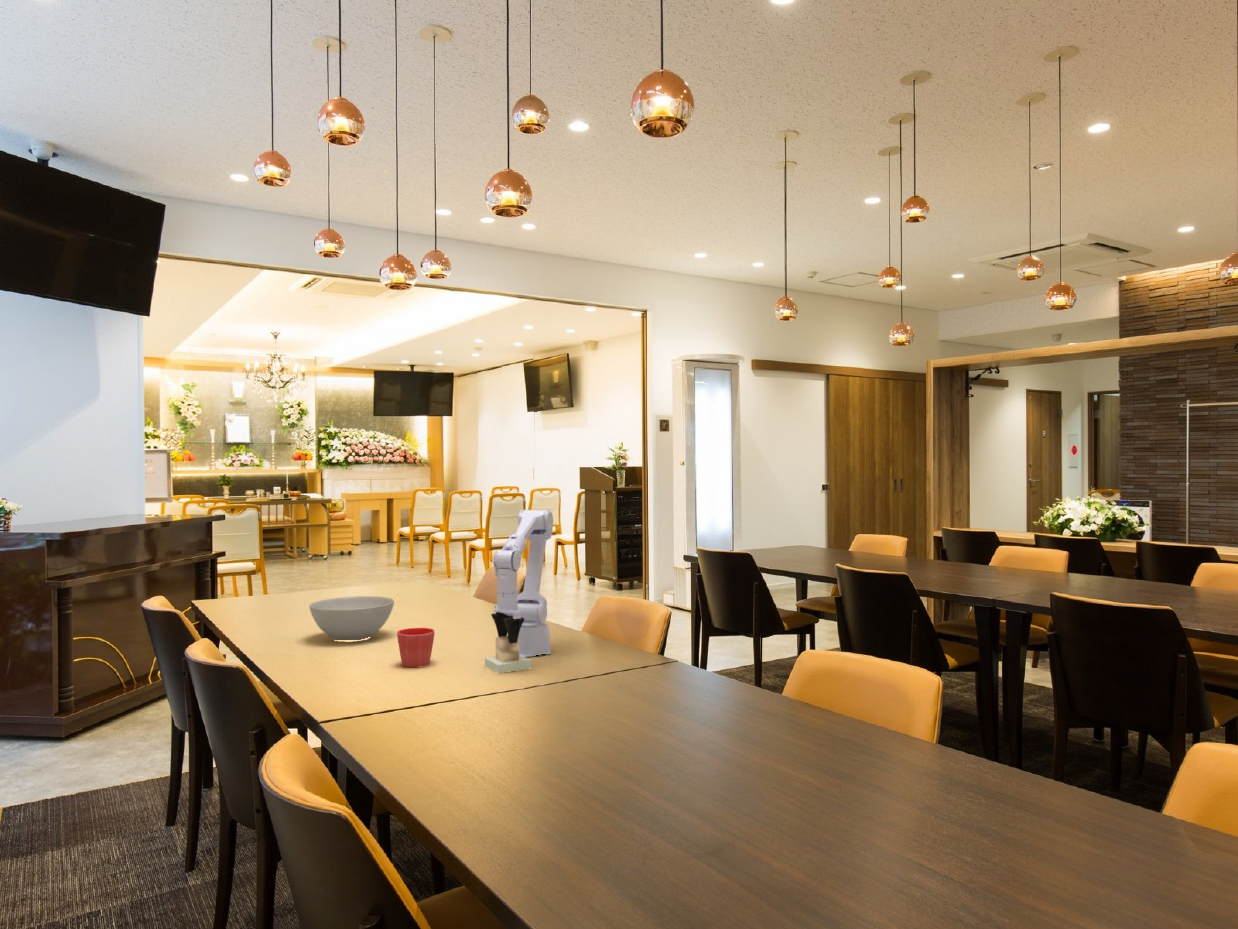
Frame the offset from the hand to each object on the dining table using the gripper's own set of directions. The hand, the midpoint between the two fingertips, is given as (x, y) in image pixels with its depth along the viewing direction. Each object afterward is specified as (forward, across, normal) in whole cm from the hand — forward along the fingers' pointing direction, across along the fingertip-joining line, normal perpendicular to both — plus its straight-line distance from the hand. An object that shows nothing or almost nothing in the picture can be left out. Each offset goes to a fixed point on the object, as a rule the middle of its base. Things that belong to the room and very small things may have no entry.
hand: (507, 640), depth 230 cm
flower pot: (+8, -18, -21) cm, 29 cm away
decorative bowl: (+8, -64, -29) cm, 71 cm away
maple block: (+5, 0, 0) cm, 5 cm away
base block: (+8, 0, 0) cm, 8 cm away
